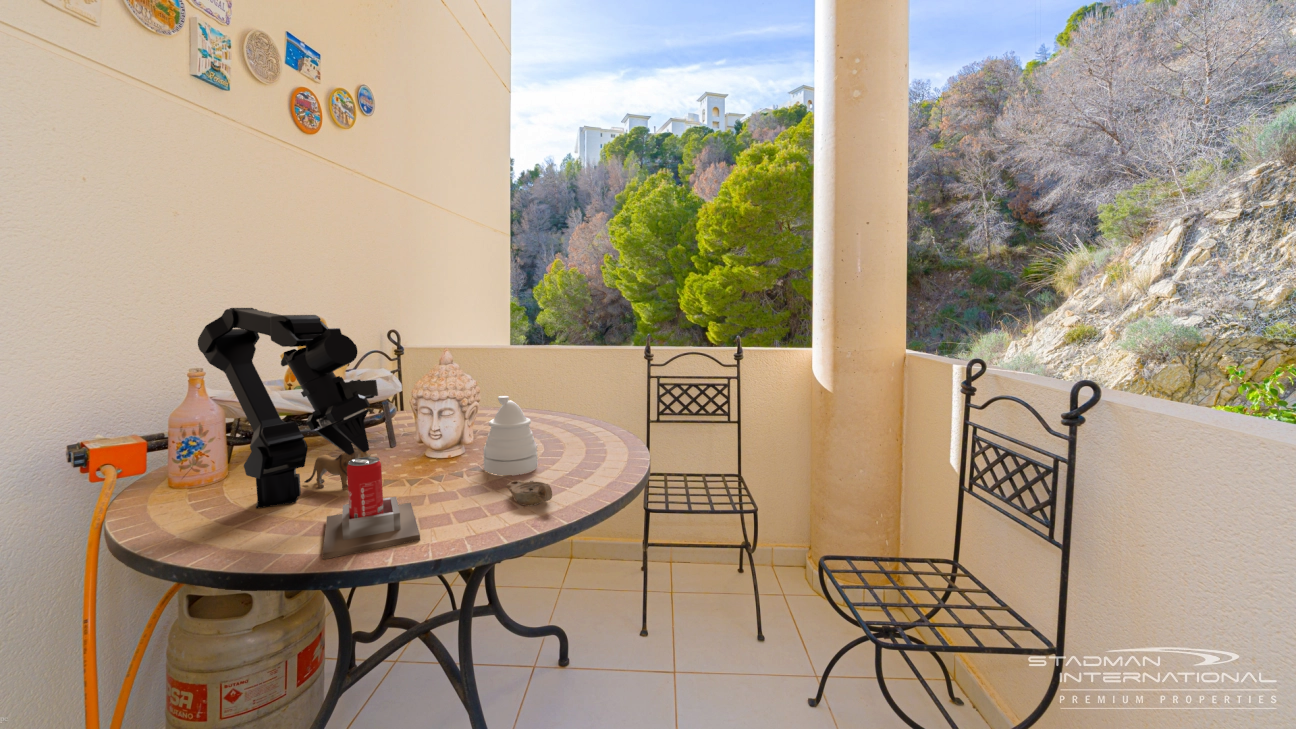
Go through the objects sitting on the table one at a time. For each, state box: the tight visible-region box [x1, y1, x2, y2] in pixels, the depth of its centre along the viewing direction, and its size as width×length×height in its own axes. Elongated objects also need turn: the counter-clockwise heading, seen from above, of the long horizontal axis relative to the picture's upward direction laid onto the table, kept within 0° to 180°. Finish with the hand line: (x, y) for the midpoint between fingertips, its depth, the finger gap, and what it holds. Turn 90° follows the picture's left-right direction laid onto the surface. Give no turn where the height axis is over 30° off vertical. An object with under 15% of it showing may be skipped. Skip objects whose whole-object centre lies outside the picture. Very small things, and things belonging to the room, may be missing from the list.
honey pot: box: [483, 395, 539, 476], centre depth 125 cm, size 13×13×18 cm
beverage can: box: [347, 456, 384, 519], centre depth 89 cm, size 5×5×12 cm
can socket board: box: [322, 496, 421, 560], centre depth 90 cm, size 14×16×4 cm
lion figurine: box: [303, 446, 372, 491], centre depth 112 cm, size 15×5×9 cm, turn 87°
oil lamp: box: [506, 479, 553, 506], centre depth 104 cm, size 13×8×5 cm, turn 45°
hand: (358, 452), depth 97 cm, fingers open, 9 cm apart
